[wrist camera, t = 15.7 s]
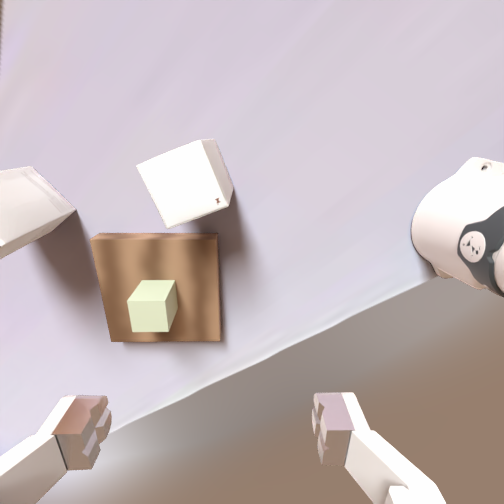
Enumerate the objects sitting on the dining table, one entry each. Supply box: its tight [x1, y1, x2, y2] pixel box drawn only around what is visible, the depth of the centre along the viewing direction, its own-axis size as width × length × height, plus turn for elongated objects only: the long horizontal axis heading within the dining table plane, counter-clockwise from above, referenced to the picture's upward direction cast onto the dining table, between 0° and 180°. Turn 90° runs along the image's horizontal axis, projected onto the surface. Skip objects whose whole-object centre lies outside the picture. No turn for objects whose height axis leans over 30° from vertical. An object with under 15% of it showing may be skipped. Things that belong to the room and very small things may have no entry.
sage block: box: [127, 280, 178, 332], centre depth 42 cm, size 5×5×6 cm
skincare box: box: [0, 166, 76, 259], centre depth 35 cm, size 8×6×15 cm
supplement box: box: [137, 139, 234, 229], centre depth 35 cm, size 7×7×13 cm
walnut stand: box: [90, 233, 221, 342], centre depth 46 cm, size 18×18×3 cm
